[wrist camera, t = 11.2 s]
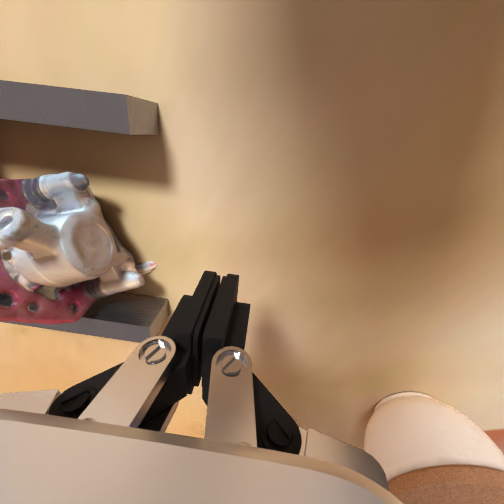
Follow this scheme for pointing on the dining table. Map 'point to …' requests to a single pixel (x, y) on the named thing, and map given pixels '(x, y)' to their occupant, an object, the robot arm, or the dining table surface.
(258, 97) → the dining table surface
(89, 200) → the brake caliper
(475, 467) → the lidded bowl
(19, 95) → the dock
